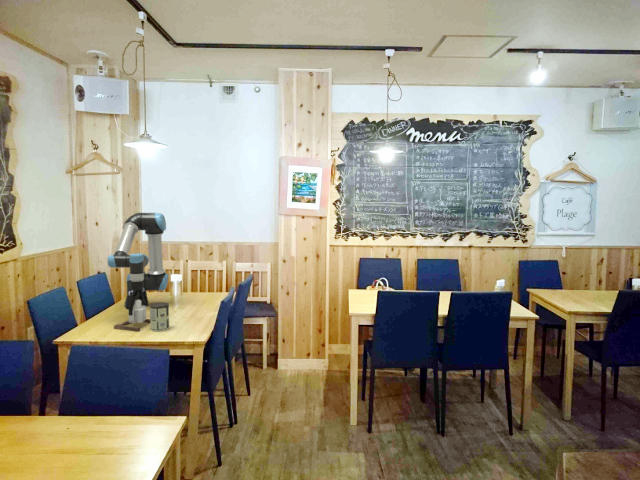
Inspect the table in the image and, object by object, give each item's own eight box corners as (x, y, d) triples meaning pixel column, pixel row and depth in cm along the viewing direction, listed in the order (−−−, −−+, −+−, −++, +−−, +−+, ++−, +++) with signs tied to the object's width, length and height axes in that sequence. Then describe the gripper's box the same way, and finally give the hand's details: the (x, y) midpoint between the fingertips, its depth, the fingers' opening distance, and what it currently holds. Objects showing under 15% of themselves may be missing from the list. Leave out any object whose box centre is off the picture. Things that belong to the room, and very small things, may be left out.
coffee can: (159, 325, 267) (159, 301, 266) (173, 327, 263) (172, 303, 262) (146, 329, 258) (145, 305, 257) (159, 332, 254) (159, 307, 252)
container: (133, 319, 267) (132, 297, 266) (146, 319, 268) (146, 297, 267) (128, 322, 260) (128, 300, 259) (142, 322, 260) (142, 300, 259)
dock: (134, 320, 275) (134, 317, 275) (157, 323, 271) (157, 320, 271) (113, 328, 258) (113, 325, 258) (137, 331, 254) (137, 328, 254)
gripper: (143, 276, 273) (144, 313, 275) (118, 283, 252) (118, 322, 254) (154, 277, 271) (154, 314, 273) (129, 284, 250) (130, 323, 252)
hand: (137, 318), depth 264 cm, fingers closed on container, 9 cm apart
